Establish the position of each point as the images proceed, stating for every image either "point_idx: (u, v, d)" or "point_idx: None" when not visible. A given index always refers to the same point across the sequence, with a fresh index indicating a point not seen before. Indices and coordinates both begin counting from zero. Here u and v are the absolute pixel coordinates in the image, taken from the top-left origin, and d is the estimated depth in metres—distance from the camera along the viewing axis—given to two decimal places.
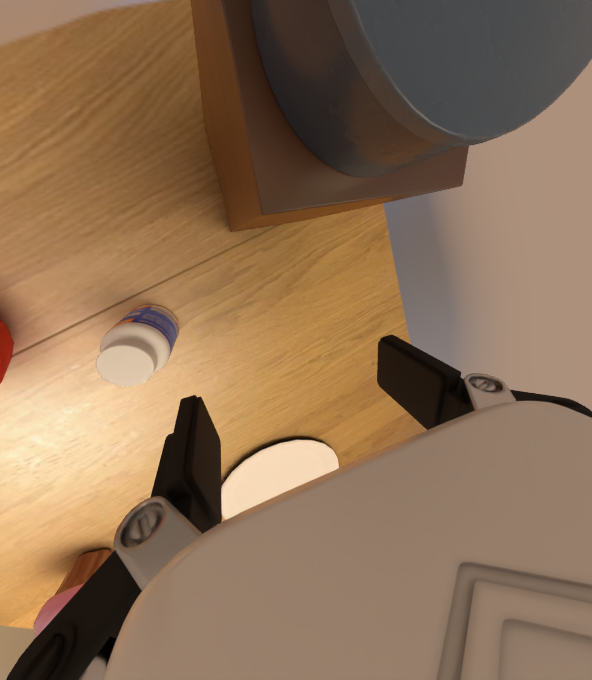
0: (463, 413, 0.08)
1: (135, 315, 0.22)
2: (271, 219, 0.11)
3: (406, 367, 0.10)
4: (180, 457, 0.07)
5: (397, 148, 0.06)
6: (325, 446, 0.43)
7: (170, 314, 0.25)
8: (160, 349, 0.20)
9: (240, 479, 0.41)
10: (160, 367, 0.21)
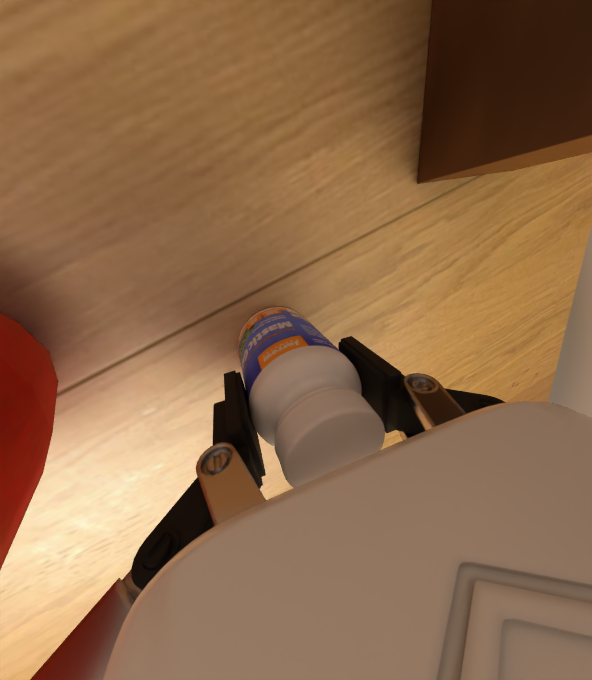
0: (402, 411, 0.09)
1: (290, 328, 0.11)
2: None
3: (359, 367, 0.10)
4: (236, 414, 0.08)
5: None
6: None
7: None
8: None
9: None
10: None
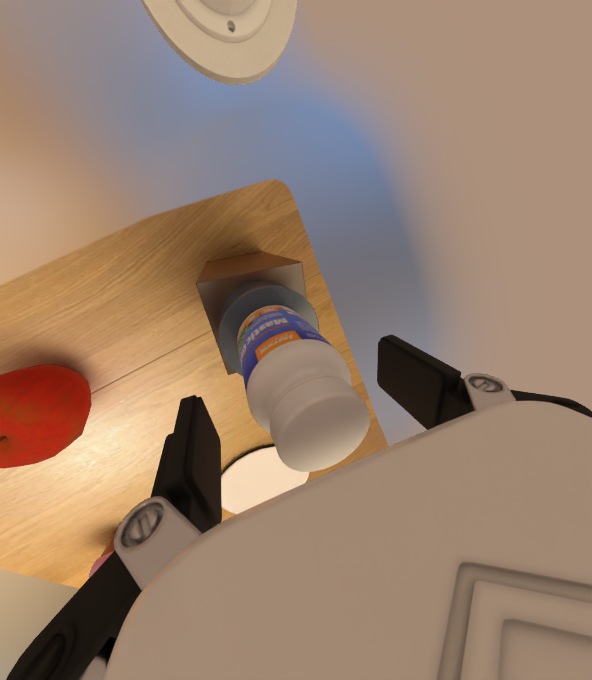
0: (463, 413, 0.08)
1: (285, 324, 0.12)
2: None
3: (406, 367, 0.10)
4: (180, 457, 0.07)
5: None
6: None
7: None
8: None
9: (232, 476, 0.55)
10: None
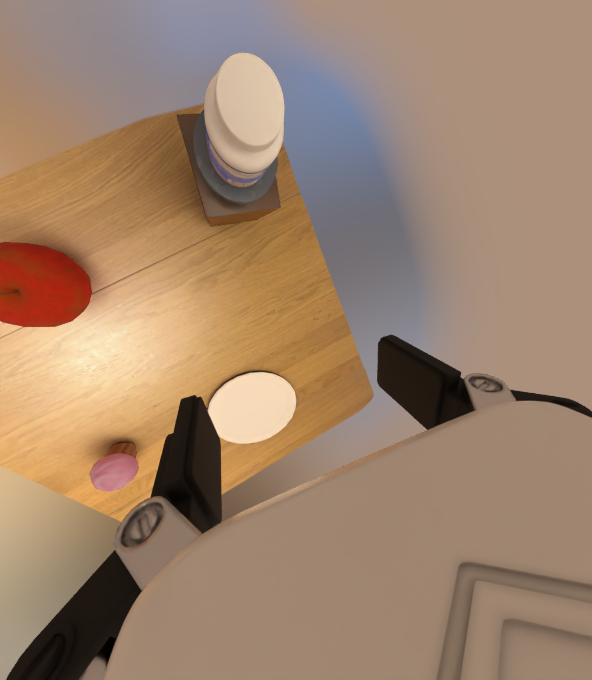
0: (463, 413, 0.08)
1: None
2: (217, 219, 0.29)
3: (406, 367, 0.10)
4: (180, 457, 0.07)
5: (234, 202, 0.24)
6: (283, 380, 0.61)
7: None
8: None
9: (222, 399, 0.59)
10: (272, 155, 0.16)
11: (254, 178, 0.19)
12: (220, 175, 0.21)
